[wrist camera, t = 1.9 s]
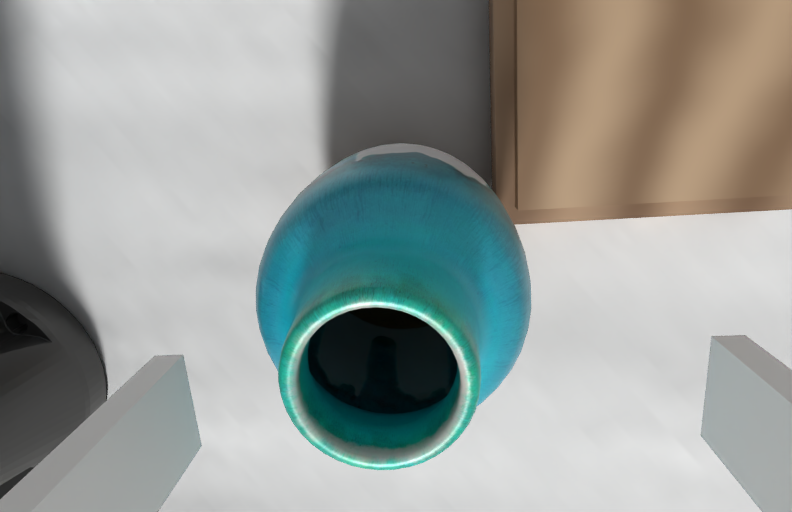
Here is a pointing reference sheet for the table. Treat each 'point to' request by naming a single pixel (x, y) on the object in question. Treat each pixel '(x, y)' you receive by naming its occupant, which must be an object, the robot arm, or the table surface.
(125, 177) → the table surface
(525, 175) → the pedestal
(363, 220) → the vase
